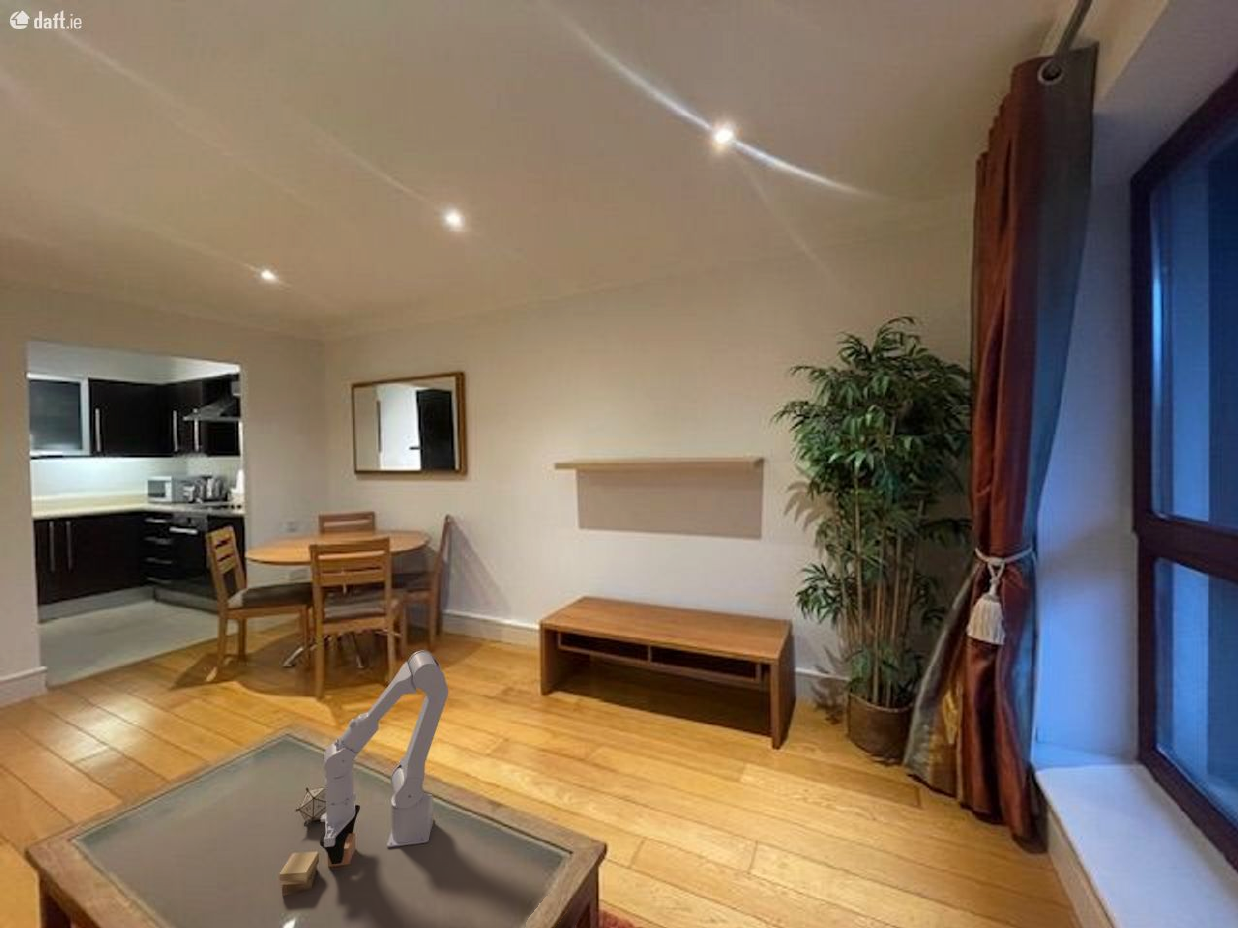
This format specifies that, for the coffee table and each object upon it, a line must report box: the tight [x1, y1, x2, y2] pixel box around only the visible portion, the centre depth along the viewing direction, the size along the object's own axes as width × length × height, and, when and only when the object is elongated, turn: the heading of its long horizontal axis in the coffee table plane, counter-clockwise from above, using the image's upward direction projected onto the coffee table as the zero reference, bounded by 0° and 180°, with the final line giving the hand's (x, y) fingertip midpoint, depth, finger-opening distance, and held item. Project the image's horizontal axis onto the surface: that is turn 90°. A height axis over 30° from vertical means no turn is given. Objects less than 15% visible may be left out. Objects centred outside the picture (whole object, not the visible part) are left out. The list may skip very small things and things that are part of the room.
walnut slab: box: [281, 865, 318, 897], centre depth 114 cm, size 6×6×2 cm
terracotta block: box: [326, 832, 356, 868], centre depth 121 cm, size 4×4×4 cm
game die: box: [294, 786, 326, 826], centre depth 132 cm, size 9×8×10 cm
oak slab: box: [278, 851, 320, 886], centre depth 114 cm, size 6×6×2 cm
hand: (341, 851), depth 121 cm, fingers open, 6 cm apart
